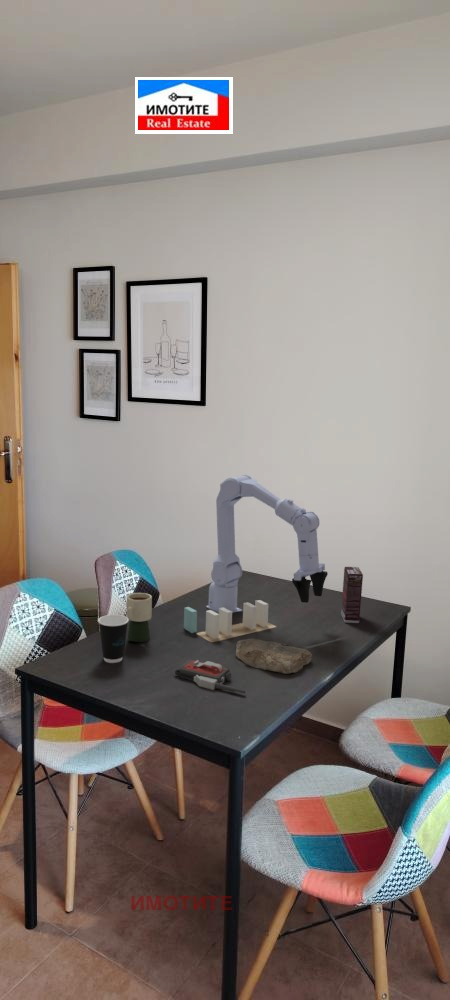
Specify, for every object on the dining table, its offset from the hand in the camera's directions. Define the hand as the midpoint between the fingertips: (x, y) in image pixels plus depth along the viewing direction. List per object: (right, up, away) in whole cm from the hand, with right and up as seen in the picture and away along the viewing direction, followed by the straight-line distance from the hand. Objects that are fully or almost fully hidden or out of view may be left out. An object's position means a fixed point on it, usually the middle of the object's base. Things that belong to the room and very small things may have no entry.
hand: (311, 598), depth 208 cm
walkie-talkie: (-28, -16, -34) cm, 47 cm away
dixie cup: (-55, -13, -23) cm, 61 cm away
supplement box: (+14, -8, +14) cm, 22 cm away
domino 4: (-15, -8, +5) cm, 18 cm away
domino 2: (-26, -9, -3) cm, 28 cm away
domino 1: (-29, -10, -6) cm, 32 cm away
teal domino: (-36, -10, -2) cm, 37 cm away
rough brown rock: (-14, -14, -20) cm, 28 cm away
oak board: (-22, -10, 0) cm, 24 cm away
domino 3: (-18, -9, +2) cm, 20 cm away
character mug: (-50, -11, -9) cm, 52 cm away
